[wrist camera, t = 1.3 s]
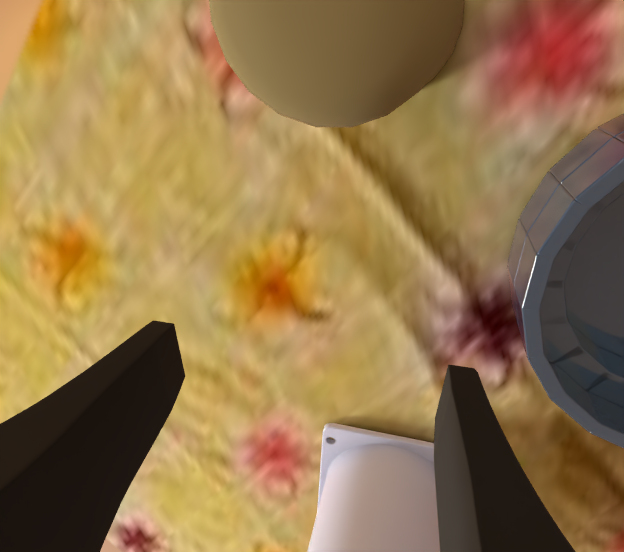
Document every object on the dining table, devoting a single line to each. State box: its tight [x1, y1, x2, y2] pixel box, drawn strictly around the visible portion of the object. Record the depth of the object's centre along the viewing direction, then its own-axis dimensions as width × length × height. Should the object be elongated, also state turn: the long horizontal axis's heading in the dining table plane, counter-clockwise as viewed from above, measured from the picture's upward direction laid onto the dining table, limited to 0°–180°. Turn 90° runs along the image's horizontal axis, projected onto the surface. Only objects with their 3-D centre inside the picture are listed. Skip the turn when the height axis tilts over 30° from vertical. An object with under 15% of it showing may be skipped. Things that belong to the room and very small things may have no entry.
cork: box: [209, 0, 464, 127], centre depth 13 cm, size 6×6×11 cm
